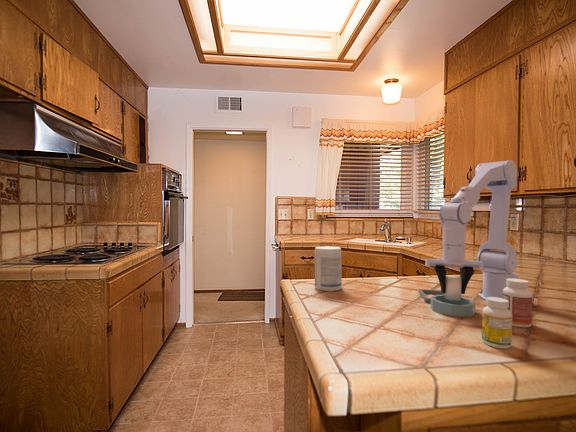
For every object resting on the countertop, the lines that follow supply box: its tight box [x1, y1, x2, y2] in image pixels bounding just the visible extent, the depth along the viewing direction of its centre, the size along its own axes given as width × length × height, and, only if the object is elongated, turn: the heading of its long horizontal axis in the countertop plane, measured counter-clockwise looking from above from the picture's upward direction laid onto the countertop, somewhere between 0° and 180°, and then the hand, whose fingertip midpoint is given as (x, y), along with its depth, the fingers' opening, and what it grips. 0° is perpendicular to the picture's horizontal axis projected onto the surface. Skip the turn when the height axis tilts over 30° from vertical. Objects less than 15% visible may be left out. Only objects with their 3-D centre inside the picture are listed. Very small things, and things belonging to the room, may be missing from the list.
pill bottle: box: [502, 278, 533, 328], centre depth 81 cm, size 6×6×11 cm
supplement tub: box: [314, 245, 343, 292], centre depth 115 cm, size 10×10×15 cm
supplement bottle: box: [481, 297, 513, 350], centre depth 69 cm, size 5×5×10 cm
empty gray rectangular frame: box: [418, 288, 464, 304], centre depth 104 cm, size 12×12×1 cm
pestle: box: [444, 275, 462, 301], centre depth 91 cm, size 4×4×6 cm
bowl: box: [429, 294, 477, 318], centre depth 91 cm, size 11×11×3 cm
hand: (452, 292), depth 91 cm, fingers closed on pestle, 4 cm apart
